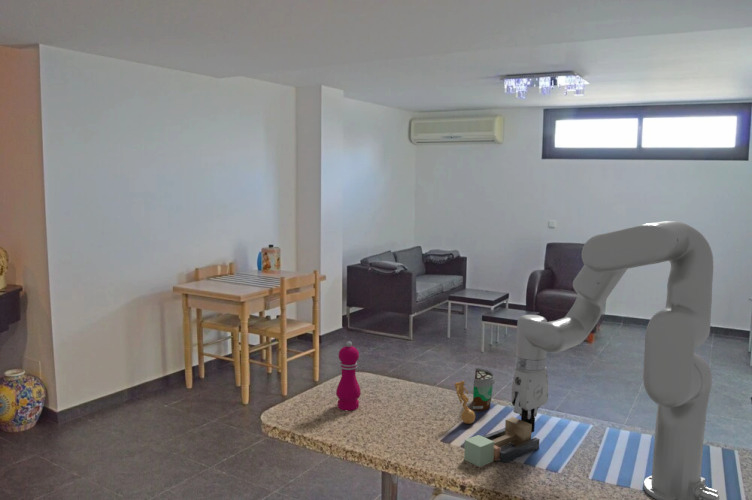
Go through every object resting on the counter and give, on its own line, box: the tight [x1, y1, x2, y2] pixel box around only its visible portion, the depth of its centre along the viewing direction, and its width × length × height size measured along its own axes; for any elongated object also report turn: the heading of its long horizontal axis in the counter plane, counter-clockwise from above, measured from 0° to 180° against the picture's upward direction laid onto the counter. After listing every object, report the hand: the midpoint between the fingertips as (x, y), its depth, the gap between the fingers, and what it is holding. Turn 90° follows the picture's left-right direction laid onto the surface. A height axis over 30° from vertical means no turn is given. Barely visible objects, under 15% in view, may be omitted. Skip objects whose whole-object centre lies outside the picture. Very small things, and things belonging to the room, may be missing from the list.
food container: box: [472, 367, 496, 412], centre depth 185 cm, size 12×6×10 cm, turn 168°
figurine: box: [454, 380, 476, 425], centre depth 172 cm, size 8×6×12 cm
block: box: [463, 434, 495, 468], centre depth 149 cm, size 5×5×5 cm
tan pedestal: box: [492, 416, 532, 462], centre depth 155 cm, size 6×14×6 cm, turn 129°
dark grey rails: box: [481, 427, 540, 464], centre depth 156 cm, size 10×14×2 cm
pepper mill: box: [335, 340, 362, 412], centre depth 182 cm, size 7×7×20 cm
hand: (527, 430), depth 161 cm, fingers closed
